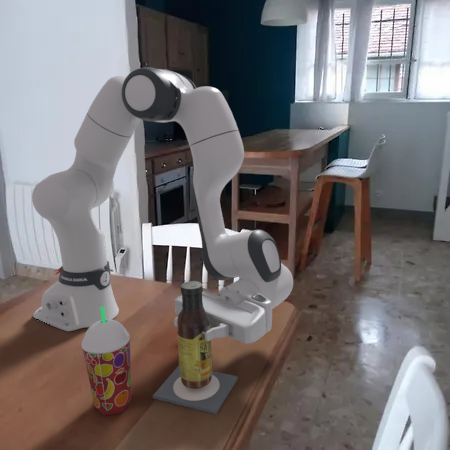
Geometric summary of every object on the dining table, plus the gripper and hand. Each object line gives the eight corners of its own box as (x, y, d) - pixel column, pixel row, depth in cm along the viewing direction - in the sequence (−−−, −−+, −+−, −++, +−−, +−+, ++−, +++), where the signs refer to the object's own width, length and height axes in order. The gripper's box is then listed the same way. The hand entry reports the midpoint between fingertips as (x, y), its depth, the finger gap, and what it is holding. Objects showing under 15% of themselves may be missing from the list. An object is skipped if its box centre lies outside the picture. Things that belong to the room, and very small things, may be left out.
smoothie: (95, 392, 86) (83, 298, 81) (138, 389, 87) (129, 295, 81) (85, 422, 78) (71, 319, 73) (133, 418, 79) (123, 316, 73)
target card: (153, 398, 84) (152, 395, 84) (180, 366, 94) (179, 363, 94) (216, 414, 79) (216, 410, 79) (237, 379, 89) (237, 376, 89)
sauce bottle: (208, 392, 82) (203, 294, 77) (176, 389, 84) (168, 292, 78) (216, 371, 88) (211, 279, 83) (186, 368, 90) (179, 277, 84)
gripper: (201, 278, 98) (152, 299, 88) (277, 303, 85) (230, 332, 75) (203, 304, 100) (155, 328, 90) (277, 333, 86) (231, 364, 77)
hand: (190, 330), depth 82 cm, fingers closed on sauce bottle, 6 cm apart
